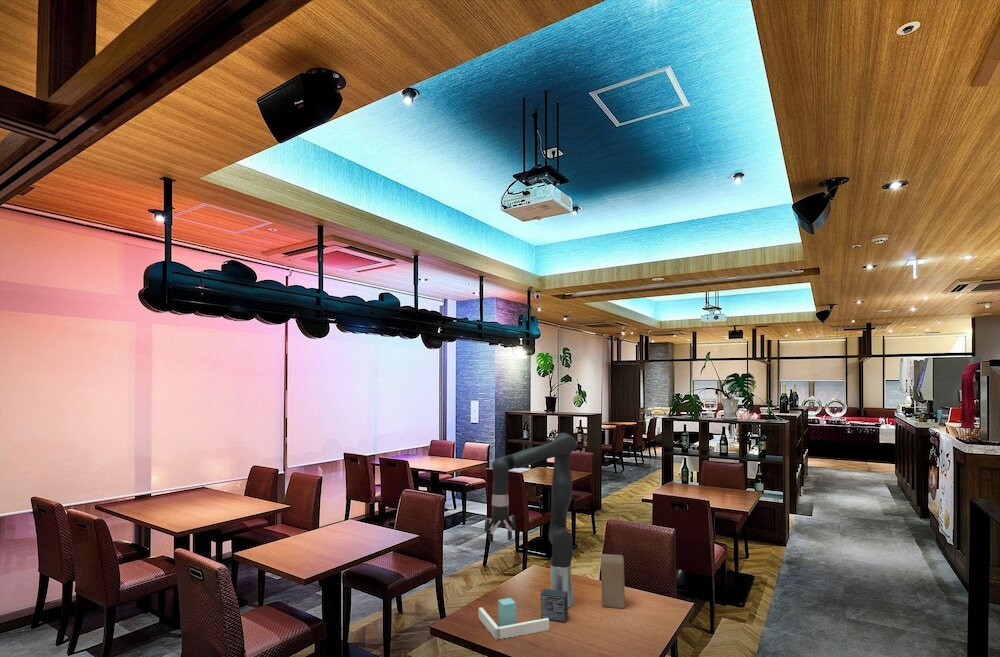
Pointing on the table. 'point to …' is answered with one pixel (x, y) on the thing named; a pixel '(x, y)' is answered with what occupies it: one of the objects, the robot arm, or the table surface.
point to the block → (612, 581)
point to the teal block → (506, 612)
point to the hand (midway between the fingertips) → (500, 541)
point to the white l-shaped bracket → (512, 626)
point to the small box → (554, 605)
